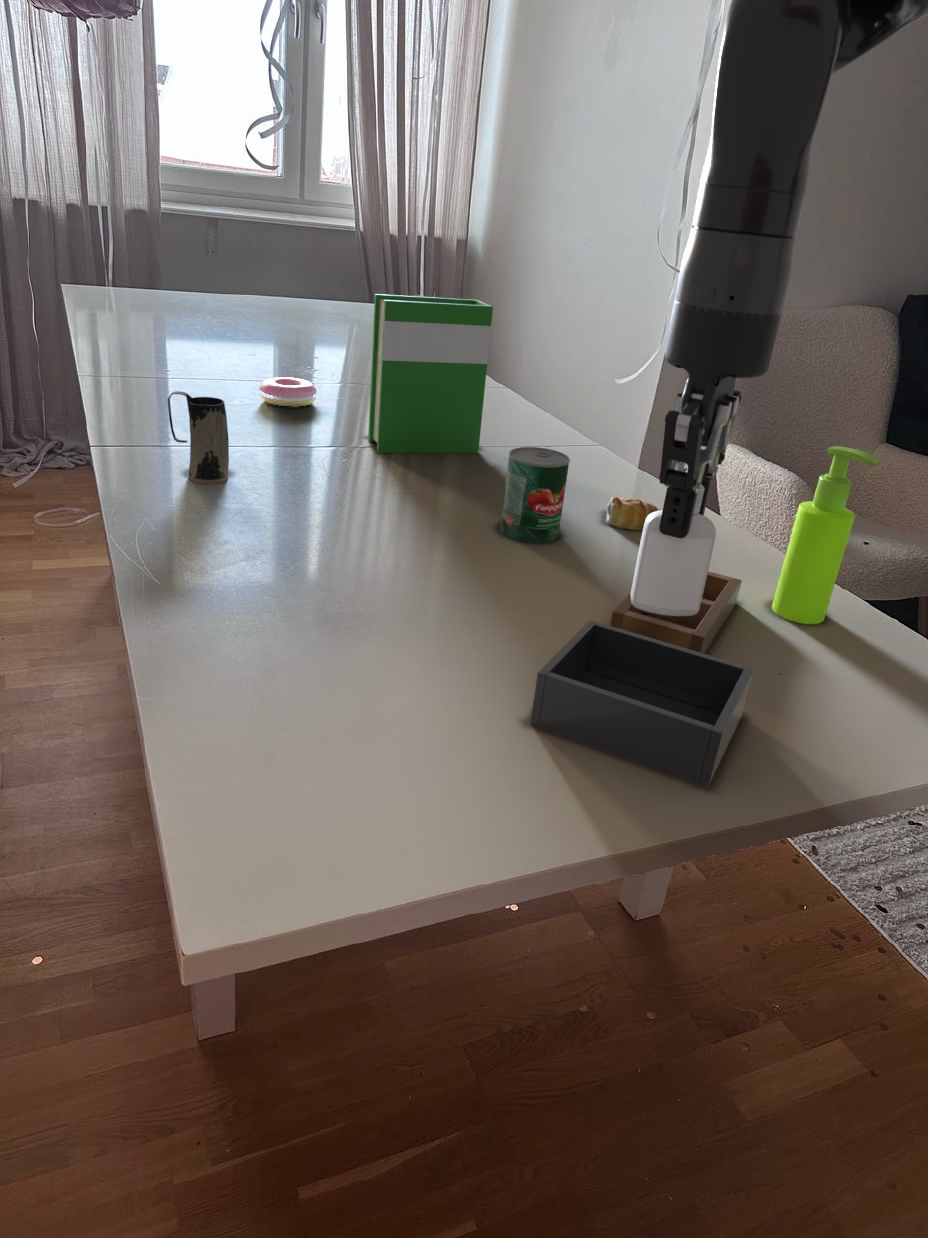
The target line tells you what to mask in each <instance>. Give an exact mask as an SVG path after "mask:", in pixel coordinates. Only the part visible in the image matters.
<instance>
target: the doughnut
mask: <svg viewBox="0 0 928 1238" xmlns="http://www.w3.org/2000/svg"><path fill="white" fill-rule="evenodd" d="M259 390H261V391H262V392H264V393H266V394H269V395H273V396H277V397H282V398H305V397H310V396H313V395H314V394H316V392H317V393H318V391H317V390H318V388H316V387H315V385H314V384H313V382H310V381H308V380H307V379H301V378H294V377H285V376H281V377H273V378H267V379H266V380H264V381H262V382H260V385H259ZM260 398H261V399H262V400H263V401H264V402H265V401H266V402H265V403H267V402H268V403H267V404H269V403H271V404H274V405H273V406H275V405H280V406H292V407H291V408H300V407H299V406H304V407H307V406H306V405H308V406H310V405H312V404H313V403H314V402H315V401H316V399H317V396H316V397H315V398H313V399H310V400H304V401H284V400H276V399H271V398H267V397H264V396H262V395H261V393H260ZM311 403H312V404H311ZM271 404H270V405H271ZM309 404H310V405H309ZM280 406H279V407H280Z"/></svg>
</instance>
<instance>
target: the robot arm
mask: <svg viewBox="0 0 928 1238" xmlns="http://www.w3.org/2000/svg"><path fill="white" fill-rule="evenodd" d="M925 17H928V0H731V3H730V5H729V7H728V10H727V14H726V18H725V22H724V27H723V34H722V38H721V45H720V51H719V56H718V57H719V58H718V65H717V74H716V82H715V92H714V101H713V102H714V103H713V111H712V120H711V121H712V122H711V134H710V135H711V136H710V141H709V145H708V150H707V154H706V157H705V161H704V165H703V169H702V173H701V177H700V180H699V181H700V182H699V184H700V185H699V188H698V193H697V198H696V205H695V209H694V215H693V220H692V226H693V227H691V229H690V233H689V238H688V241H687V244H686V247H685V250H684V253H683V256H682V260H681V264H680V270H679V274H678V275H679V276H678V280H677V284H676V285H677V286H676V291H675V295H674V296H675V297H674V301H673V307H672V311H671V317H670V323H669V328H668V332H667V338H666V344H665V350H664V359H665V361H666V362H667V363H668V364H669V365H670V366H673V367H675V368H677V369H684V370H685V371H686V372H687V374H688V375H687V380H686V381H685V385H684V389H683V392H680V391H679V392H678V393H677V394H676V397H675V400H674V404H673V407H672V409H670V410H668V412H667V414H666V415H665V418H664V422H665V423H664V434H663V442H662V452H661V463H660V473H659V476H658V478H659V484H661V485H664V487H666V490H665V491H666V492H665V496H664V500H663V507H662V509H663V511H662V516H661V521H660V526H659V530H660V532H661V533H662V534H664V535H668V536H672V537H676V538H684V537H686V536H687V534H688V533H689V530H690V526H691V521H692V516H693V512H694V507H695V503H696V498H697V493H698V490H699V489H700V488H701V485H702V486H703V487H704V488H705V489H704V494H703V498H702V503H701V507H700V512H699V514H701V515H703V516H705V511H706V507H707V503H708V498H709V493H710V489H711V485H712V479H713V478H715V476H716V474H717V473H718V471H719V465H720V466H721V465H722V463H723V462H724V461H725V458H726V454H725V453H726V450H727V448H728V447H727V446H728V444H729V441H730V436H731V433H732V429H733V426H734V422H735V419H736V415H737V412H738V408H739V405H740V403H741V402H742V398H743V396H742V391H741V390H736V389H735V388H736V380H737V379H752V378H759V377H762V376H764V375H766V373H768V371H769V368H770V364H771V360H772V356H773V351H774V347H775V342H776V339H777V336H778V335H777V334H778V330H779V325H780V323H781V318H782V313H783V309H784V305H785V302H786V301H785V300H786V296H787V292H788V287H789V285H790V279H791V274H792V267H793V259H794V257H793V256H794V249H795V243H796V237H797V234H798V230H799V226H800V221H801V217H802V213H803V209H804V204H805V199H806V194H807V190H808V186H809V181H810V174H811V166H812V152H813V144H814V141H815V140H814V139H815V135H816V132H817V129H818V125H819V122H820V118H821V115H822V110H823V107H824V105H825V104H824V103H825V100H826V97H827V93H828V89H829V85H830V82H831V78H832V75H834V74H836V73H837V72H838V71H841V70H842V69H844V68H845V67H847V66H848V65H850V64H852V63H853V62H855V61H856V60H858V59H859V58H862V57H863V56H864V55H866V54H868V53H869V52H870V51H872V50H873V49H875V48H876V47H878V46H880V45H881V44H883V43H884V42H886V41H887V40H888V39H889V40H890V38H892V37H894V36H895V35H896V34H898V33H899V32H900V31H901V30H903V29H905V28H906V27H908V26H909V25H910V26H911V24H913V23H915V22H917V21H919V20H921V19H922V18H925ZM680 463H683V464H682V467H683V471H682V470H678V469H679V465H680ZM687 469H688V471H687ZM686 471H687V472H686ZM711 477H712V478H711Z"/></svg>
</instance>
